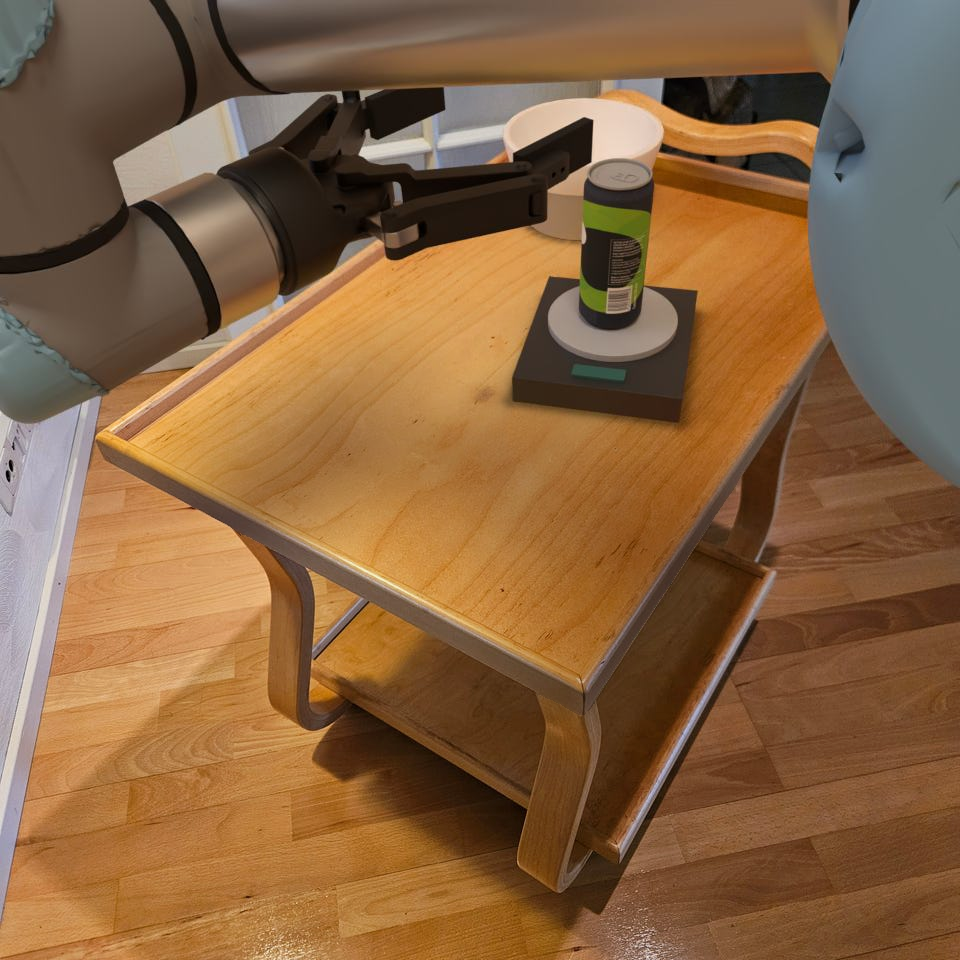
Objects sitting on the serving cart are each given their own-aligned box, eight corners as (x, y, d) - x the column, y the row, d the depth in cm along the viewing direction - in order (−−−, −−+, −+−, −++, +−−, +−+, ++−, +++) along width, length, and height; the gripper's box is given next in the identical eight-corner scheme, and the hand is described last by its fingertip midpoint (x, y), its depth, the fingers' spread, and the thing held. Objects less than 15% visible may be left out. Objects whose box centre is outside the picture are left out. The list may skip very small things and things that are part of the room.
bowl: (598, 269, 97) (603, 181, 89) (474, 221, 106) (469, 138, 98) (684, 203, 107) (695, 119, 99) (563, 165, 116) (565, 86, 108)
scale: (694, 314, 90) (698, 283, 87) (678, 423, 78) (683, 391, 75) (548, 299, 93) (549, 269, 90) (512, 401, 81) (511, 370, 78)
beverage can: (650, 307, 84) (666, 164, 74) (624, 339, 81) (638, 194, 70) (594, 291, 87) (602, 151, 76) (567, 322, 83) (572, 180, 72)
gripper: (154, 227, 55) (395, 121, 65) (403, 384, 42) (655, 223, 52) (113, 112, 50) (382, 17, 60) (384, 252, 37) (668, 100, 47)
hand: (510, 112), depth 56 cm, fingers open, 13 cm apart
